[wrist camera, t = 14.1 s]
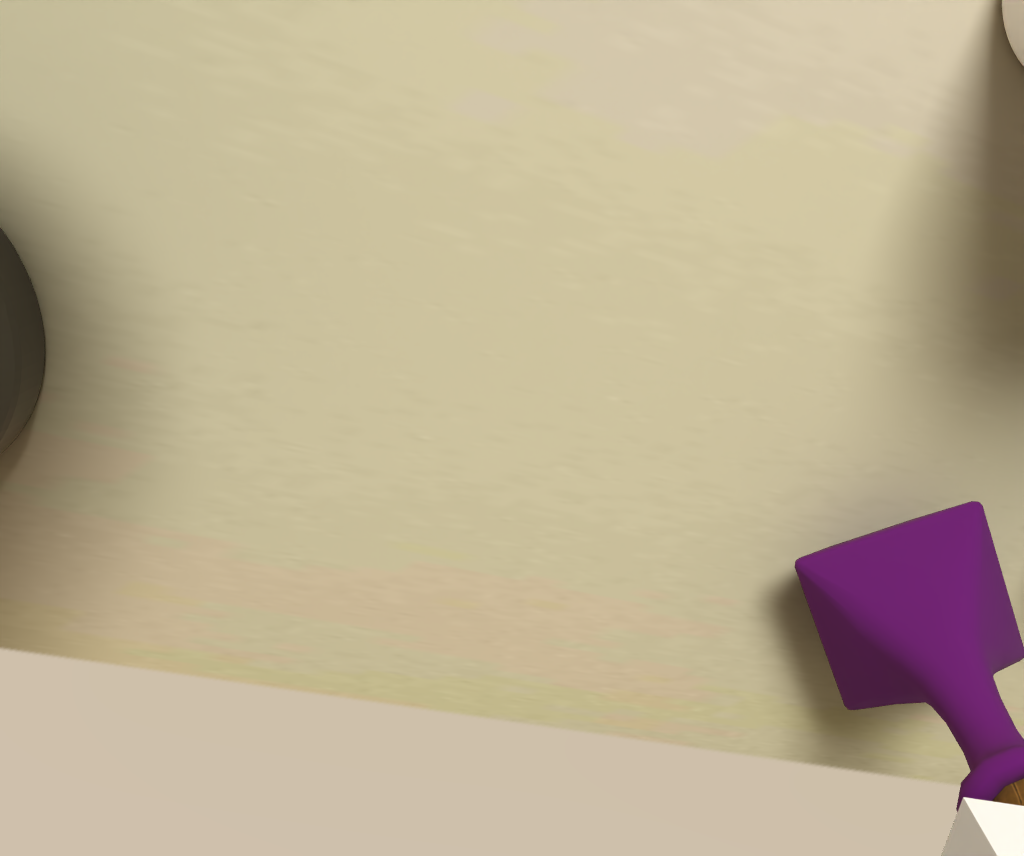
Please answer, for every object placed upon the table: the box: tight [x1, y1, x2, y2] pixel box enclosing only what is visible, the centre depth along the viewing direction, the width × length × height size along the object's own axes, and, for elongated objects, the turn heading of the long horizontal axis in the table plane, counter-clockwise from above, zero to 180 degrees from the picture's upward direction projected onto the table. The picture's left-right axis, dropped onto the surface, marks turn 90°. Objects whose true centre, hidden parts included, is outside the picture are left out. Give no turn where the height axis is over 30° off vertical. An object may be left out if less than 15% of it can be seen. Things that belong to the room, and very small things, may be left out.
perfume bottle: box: [795, 501, 1024, 812], centre depth 34 cm, size 8×8×18 cm
